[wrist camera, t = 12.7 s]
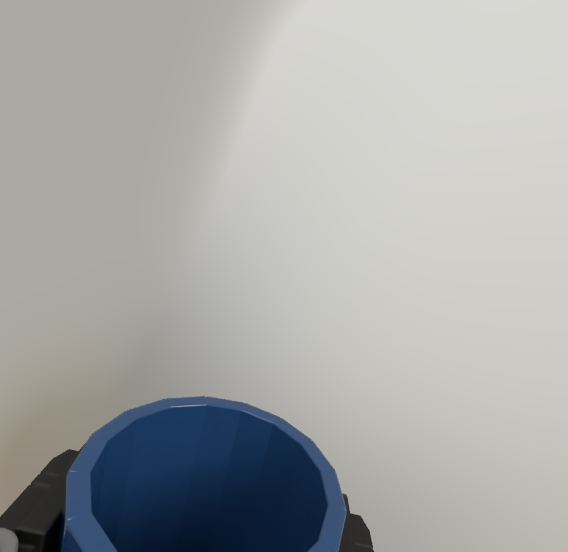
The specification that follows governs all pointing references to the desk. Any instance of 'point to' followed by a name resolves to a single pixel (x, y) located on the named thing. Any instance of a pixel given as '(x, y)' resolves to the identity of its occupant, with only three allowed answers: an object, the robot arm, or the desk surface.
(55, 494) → the robot arm
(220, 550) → the cup
